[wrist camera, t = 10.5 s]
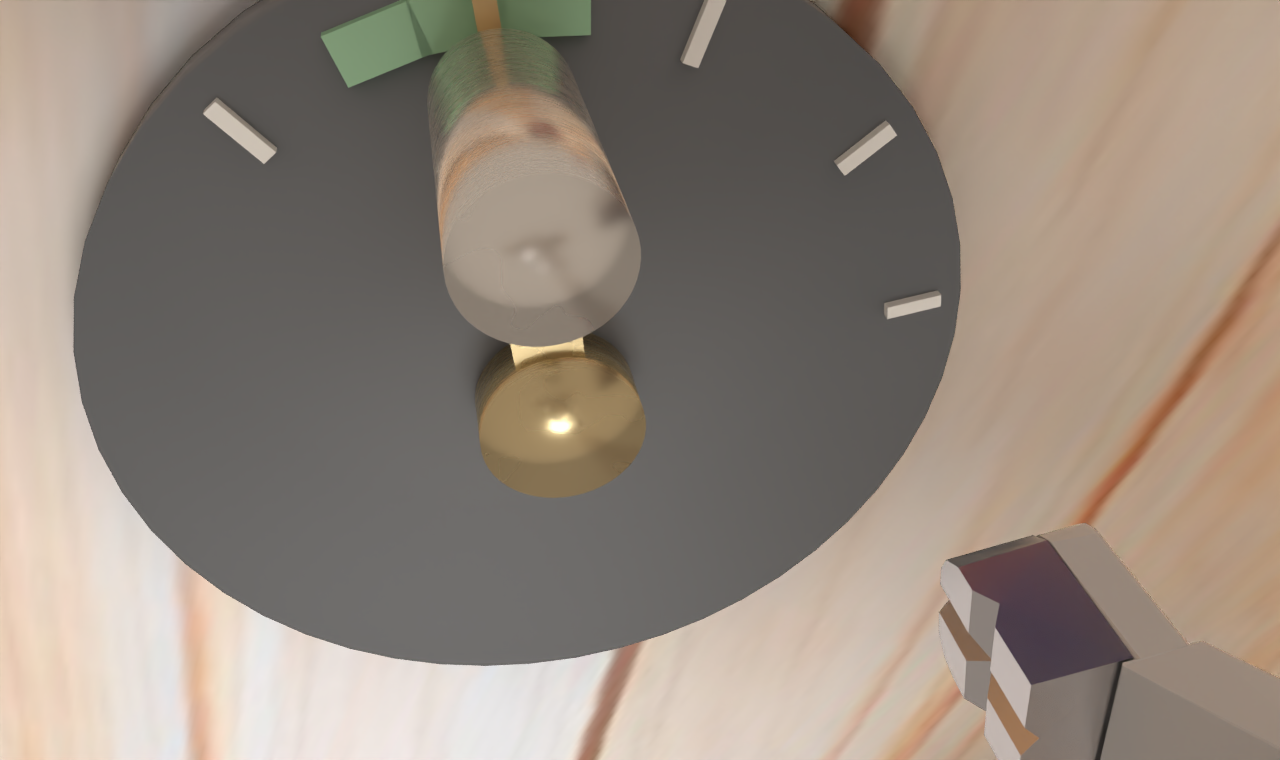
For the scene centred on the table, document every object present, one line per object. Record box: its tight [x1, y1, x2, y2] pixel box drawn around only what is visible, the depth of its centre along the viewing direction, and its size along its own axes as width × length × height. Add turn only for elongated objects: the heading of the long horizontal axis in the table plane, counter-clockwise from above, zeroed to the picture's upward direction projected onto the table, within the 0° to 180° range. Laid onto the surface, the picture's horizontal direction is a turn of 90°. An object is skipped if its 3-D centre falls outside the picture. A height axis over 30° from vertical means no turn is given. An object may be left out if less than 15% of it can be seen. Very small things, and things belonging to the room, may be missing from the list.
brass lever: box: [427, 0, 646, 498], centre depth 22 cm, size 14×4×8 cm, turn 6°
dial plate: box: [74, 0, 960, 666], centre depth 29 cm, size 24×24×2 cm
